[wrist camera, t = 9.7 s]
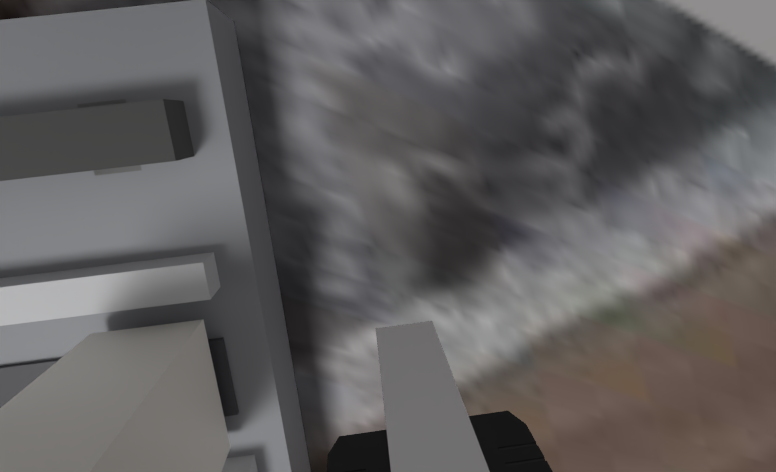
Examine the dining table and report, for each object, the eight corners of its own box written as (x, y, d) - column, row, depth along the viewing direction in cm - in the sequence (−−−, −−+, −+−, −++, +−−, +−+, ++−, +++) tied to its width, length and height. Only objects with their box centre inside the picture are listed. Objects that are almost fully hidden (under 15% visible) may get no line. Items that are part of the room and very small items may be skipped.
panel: (-322, 79, 14) (-570, 66, 11) (234, 22, 15) (192, -12, 11) (-89, 620, 19) (-202, 748, 15) (326, 559, 20) (319, 667, 16)
